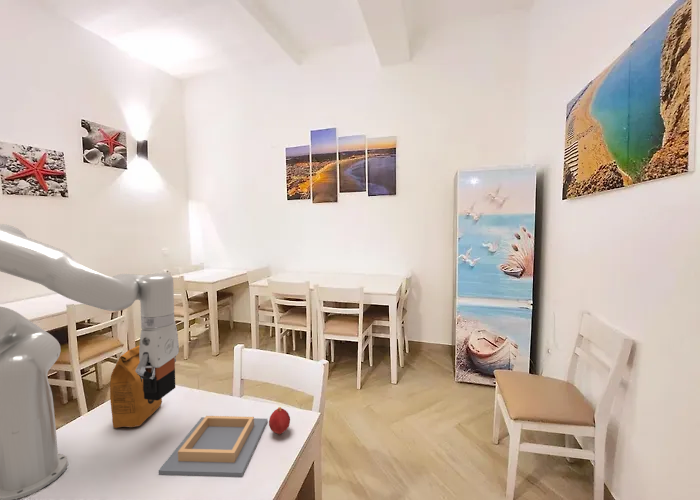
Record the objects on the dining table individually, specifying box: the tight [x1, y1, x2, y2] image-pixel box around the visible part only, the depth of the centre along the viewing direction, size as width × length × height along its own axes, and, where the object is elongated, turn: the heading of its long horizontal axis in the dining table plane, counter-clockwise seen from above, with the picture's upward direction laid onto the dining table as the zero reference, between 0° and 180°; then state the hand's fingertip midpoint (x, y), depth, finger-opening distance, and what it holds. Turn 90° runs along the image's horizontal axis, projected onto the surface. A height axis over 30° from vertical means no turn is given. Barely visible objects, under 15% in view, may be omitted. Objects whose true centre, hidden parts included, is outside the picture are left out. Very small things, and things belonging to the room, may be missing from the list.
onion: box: [268, 406, 291, 436], centre depth 87 cm, size 6×6×8 cm
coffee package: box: [109, 344, 163, 429], centre depth 94 cm, size 10×12×22 cm
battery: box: [144, 357, 176, 401], centre depth 84 cm, size 4×7×10 cm, turn 172°
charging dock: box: [158, 415, 269, 478], centre depth 83 cm, size 20×20×4 cm
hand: (160, 384), depth 84 cm, fingers closed on battery, 7 cm apart
